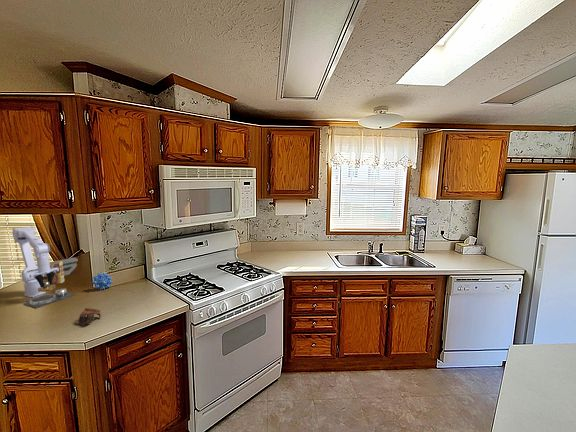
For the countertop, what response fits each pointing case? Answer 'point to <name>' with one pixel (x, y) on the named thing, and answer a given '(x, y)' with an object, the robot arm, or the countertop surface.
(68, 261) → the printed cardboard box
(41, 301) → the gear carrier
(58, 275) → the candy box
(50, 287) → the planet gear
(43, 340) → the countertop surface
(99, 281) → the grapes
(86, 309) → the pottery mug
